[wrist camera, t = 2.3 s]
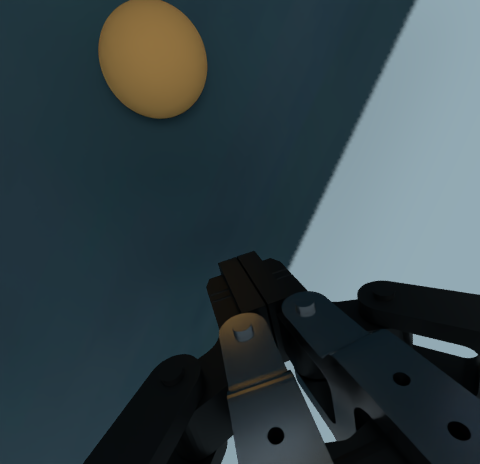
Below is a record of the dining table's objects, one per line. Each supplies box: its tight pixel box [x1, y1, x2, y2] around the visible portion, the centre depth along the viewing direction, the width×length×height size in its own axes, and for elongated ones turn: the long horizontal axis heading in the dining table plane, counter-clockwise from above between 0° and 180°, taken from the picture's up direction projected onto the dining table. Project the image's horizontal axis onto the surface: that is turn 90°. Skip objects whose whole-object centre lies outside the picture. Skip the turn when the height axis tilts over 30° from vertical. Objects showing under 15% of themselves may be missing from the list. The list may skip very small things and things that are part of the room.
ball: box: [98, 0, 207, 119], centre depth 17 cm, size 6×6×6 cm
